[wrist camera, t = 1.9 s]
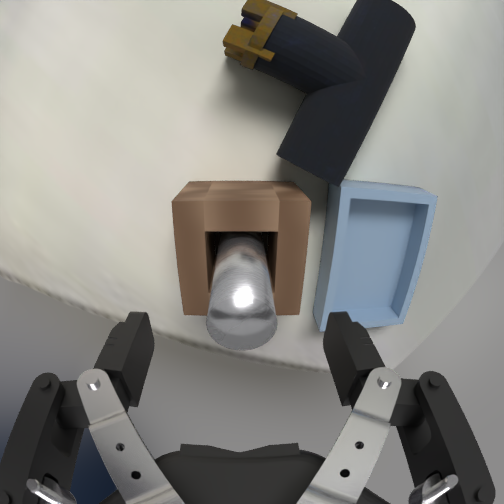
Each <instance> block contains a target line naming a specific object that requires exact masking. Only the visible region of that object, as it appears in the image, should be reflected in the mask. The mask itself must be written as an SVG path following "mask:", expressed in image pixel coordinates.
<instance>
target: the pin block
mask: <svg viewBox="0 0 504 504" xmlns="http://www.w3.org/2000/svg"><path fill="white" fill-rule="evenodd" d="M172 213H173V225H174V236H175V247H176V256H177V265H178V274H179V282H180V290H181V297H182V305H183V312H184V315H205V316H207V314H208V308H209V301H210V295H211V289H212V283H213V276H214V270H215V264H216V259H217V254H215V231H268V246H267V254H266V260H267V266H268V271H269V277H270V283H271V288H272V294H273V300H274V306H275V312H276V315H299V313H300V305H301V297H302V289H303V281H304V273H305V264H306V255H307V245H308V235H309V224H310V213H311V201H310V200H309V198H308V197H307V196H306V195H305V194H304V193H303V192H302V190H301V189H300V188H299V187H298V186H297V185H296V184H295V183H294V182H282V181H195V182H188V184H187V185H186V186H185V187H184V188H183V189H182V190H181V191H180V193H179V194H178V195H177V196H176V197H175V198H174V199H173V201H172Z"/></svg>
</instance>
